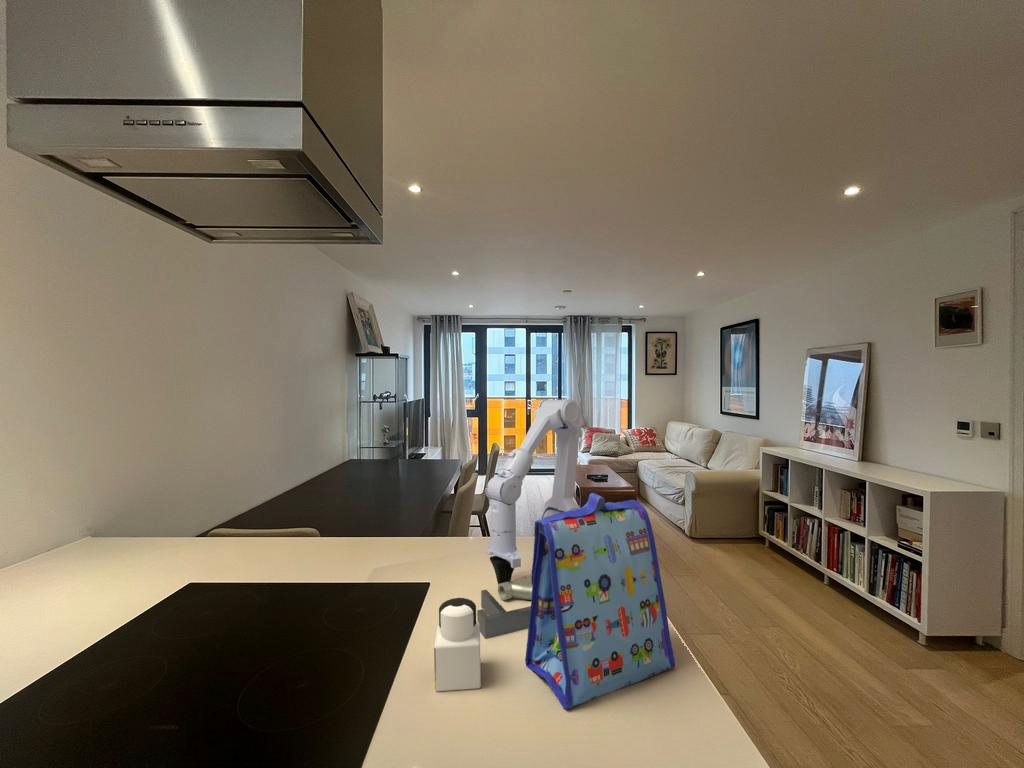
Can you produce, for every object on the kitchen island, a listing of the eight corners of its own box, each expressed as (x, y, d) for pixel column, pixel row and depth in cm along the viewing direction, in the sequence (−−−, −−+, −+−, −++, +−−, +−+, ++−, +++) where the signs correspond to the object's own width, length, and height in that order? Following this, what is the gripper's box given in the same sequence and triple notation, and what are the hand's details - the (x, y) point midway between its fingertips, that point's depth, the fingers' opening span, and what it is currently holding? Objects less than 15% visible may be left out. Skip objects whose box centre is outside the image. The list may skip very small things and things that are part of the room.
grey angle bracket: (555, 590, 107) (554, 575, 107) (584, 613, 95) (583, 596, 96) (464, 610, 98) (464, 594, 98) (485, 638, 86) (484, 620, 86)
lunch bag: (622, 633, 88) (620, 481, 88) (678, 671, 76) (674, 495, 76) (522, 665, 78) (520, 495, 78) (568, 715, 66) (564, 513, 66)
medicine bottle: (438, 665, 78) (437, 594, 79) (480, 662, 79) (479, 592, 79) (434, 692, 71) (433, 614, 71) (480, 689, 72) (479, 612, 72)
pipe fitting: (544, 601, 102) (526, 588, 108) (544, 584, 102) (527, 571, 108) (513, 611, 98) (497, 596, 104) (514, 593, 98) (498, 580, 103)
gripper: (476, 523, 111) (476, 579, 111) (499, 540, 98) (499, 605, 97) (503, 519, 114) (503, 574, 113) (529, 536, 100) (529, 598, 100)
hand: (503, 588), depth 106 cm, fingers closed
